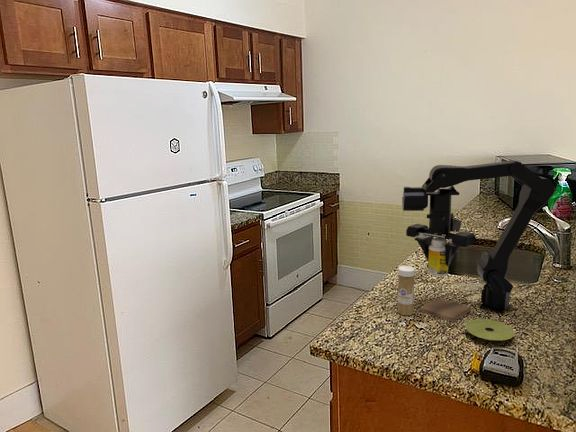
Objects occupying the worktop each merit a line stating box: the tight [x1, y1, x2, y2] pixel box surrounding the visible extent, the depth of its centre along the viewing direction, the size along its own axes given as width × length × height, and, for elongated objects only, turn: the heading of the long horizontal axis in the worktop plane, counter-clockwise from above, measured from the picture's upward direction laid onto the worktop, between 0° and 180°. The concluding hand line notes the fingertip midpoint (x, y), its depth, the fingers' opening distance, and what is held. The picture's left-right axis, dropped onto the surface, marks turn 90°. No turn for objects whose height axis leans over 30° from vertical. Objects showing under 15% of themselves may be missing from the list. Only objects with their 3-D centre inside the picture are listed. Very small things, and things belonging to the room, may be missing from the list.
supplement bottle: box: [427, 237, 449, 277], centre depth 124 cm, size 6×6×10 cm
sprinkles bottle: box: [396, 265, 416, 316], centre depth 121 cm, size 5×5×14 cm
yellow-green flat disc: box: [464, 318, 516, 341], centre depth 108 cm, size 11×11×2 cm
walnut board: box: [419, 297, 472, 323], centre depth 123 cm, size 10×10×1 cm
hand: (438, 263), depth 124 cm, fingers closed on supplement bottle, 5 cm apart
